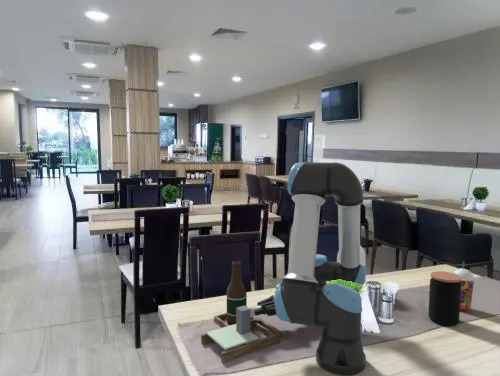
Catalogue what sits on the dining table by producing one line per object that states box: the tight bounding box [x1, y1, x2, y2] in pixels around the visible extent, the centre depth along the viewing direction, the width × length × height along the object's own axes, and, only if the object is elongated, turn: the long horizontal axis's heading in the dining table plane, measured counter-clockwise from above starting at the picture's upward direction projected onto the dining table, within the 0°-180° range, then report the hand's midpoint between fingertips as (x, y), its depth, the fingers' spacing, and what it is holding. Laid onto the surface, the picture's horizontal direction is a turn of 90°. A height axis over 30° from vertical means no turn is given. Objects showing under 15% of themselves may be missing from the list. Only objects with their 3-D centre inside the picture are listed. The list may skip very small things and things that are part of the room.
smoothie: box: [453, 261, 475, 312], centre depth 158 cm, size 8×8×20 cm
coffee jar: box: [427, 270, 461, 327], centre depth 147 cm, size 11×11×18 cm
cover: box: [206, 306, 259, 351], centre depth 127 cm, size 13×13×9 cm
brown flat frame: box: [200, 312, 286, 364], centre depth 136 cm, size 27×26×3 cm
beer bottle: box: [226, 260, 248, 326], centre depth 144 cm, size 8×8×24 cm
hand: (245, 313), depth 132 cm, fingers closed
